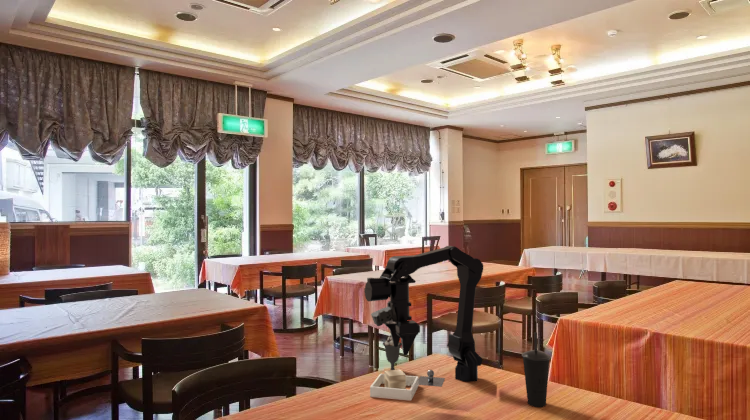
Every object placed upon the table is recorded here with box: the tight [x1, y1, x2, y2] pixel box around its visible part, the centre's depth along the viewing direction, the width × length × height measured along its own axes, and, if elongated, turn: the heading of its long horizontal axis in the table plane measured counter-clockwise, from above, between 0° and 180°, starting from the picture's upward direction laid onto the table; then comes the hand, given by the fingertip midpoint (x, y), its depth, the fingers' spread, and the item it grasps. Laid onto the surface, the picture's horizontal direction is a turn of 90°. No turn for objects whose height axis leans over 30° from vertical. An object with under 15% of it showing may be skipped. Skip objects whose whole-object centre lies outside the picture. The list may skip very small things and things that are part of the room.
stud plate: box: [418, 369, 446, 388], centre depth 149 cm, size 8×8×5 cm
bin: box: [369, 373, 420, 401], centre depth 141 cm, size 12×12×4 cm
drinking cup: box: [521, 331, 552, 408], centre depth 134 cm, size 8×8×20 cm
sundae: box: [382, 334, 402, 370], centre depth 161 cm, size 7×7×15 cm
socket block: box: [383, 368, 407, 389], centre depth 141 cm, size 5×5×6 cm
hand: (400, 350), depth 142 cm, fingers open, 9 cm apart
